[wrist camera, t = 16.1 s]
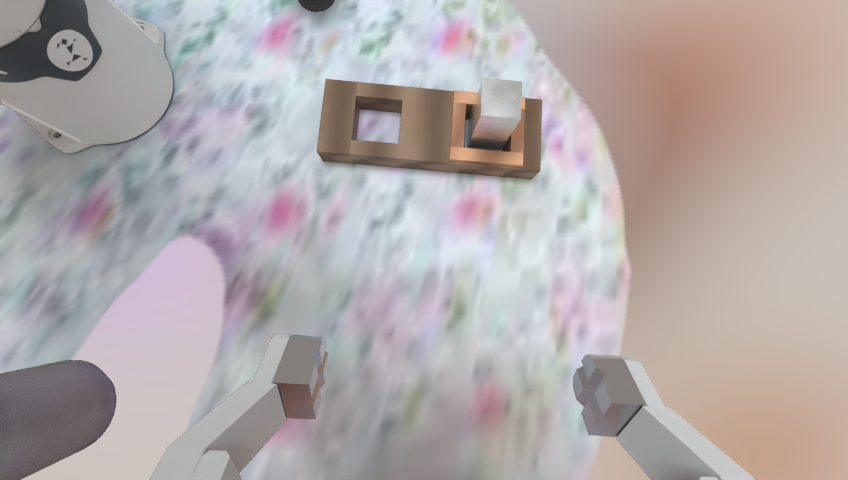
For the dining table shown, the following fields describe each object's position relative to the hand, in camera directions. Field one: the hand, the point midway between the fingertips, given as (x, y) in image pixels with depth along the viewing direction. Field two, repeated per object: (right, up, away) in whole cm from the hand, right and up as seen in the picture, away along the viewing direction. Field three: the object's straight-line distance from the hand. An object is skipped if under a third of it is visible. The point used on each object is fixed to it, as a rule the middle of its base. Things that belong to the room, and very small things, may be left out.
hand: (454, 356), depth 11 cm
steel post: (+6, +16, +34) cm, 38 cm away
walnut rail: (0, +17, +34) cm, 38 cm away
